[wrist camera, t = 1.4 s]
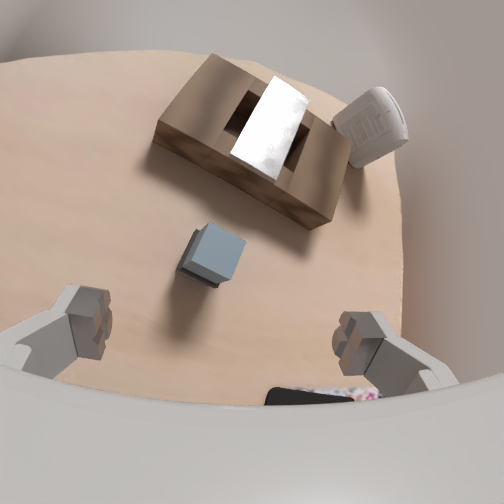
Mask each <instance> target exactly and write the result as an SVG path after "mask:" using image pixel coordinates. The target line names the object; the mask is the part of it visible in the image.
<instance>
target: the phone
mask: <svg viewBox="0 0 504 504" xmlns="http://www.w3.org/2000/svg"><path fill="white" fill-rule="evenodd" d="M343 402H354V399H353V398H350V397H343V396H334V395H326V394H319V393H311V392H306V391H300V390H292V389H286V388H280V387H274V388H272V389H270V390H269V392H268V394H267V397H266V400H265V404H264V406H280V405H312V404H330V403H343Z"/></svg>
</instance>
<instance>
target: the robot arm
mask: <svg viewBox="0 0 504 504" xmlns="http://www.w3.org/2000/svg"><path fill="white" fill-rule="evenodd" d="M110 302H111V299H110V292H109V291H108V290H105V289H99V288H93V287H87V286H81V285H75V284H68V285H66V287H65V288H64V290H63V291H62V293H61V294H60V296H59V297H58V299H57V300H56V302H55V303H54V305H53V306H52V308H51V309H50V310H44V311H42V312H40V313H38V314H36V315H34V316H32V317H30V318H28V319H26V320H24V321H22V322H20V323H18V324H16V325H14V326H12V327H10V328H8V329H6V330H4V331H2V332H0V504H504V372H503V373H499V374H496V375H492V376H489V377H485V378H482V379H478V380H474V381H470V382H466V383H462V384H459V382H458V381H457V379H456V378H455V376H454V375H453V373H452V372H451V371H450V369H449V368H448V366H447V365H445V364H444V363H442V362H440V361H438V360H437V359H435V358H434V357H432V356H431V355H429V354H427V353H426V352H424V351H423V350H421V349H419V348H418V347H416V346H414V345H413V344H411V343H410V342H408V341H406V340H404V339H403V338H398V336H397V335H396V333H395V332H394V330H393V329H392V327H391V326H390V324H389V323H388V321H387V320H386V318H385V317H384V315H383V314H382V313H381V312H347V311H344V312H343V313H342V314H341V316H340V319H339V322H340V326H339V327H338V328H337V329H336V330H335V332H334V334H333V337H332V348H333V351H334V354H335V355H336V356H338V357H339V358H340V360H339V366H340V368H341V370H342V373H343V375H344V376H355V375H364V377H365V378H366V379H367V380H369V381H370V382H371V383H372V384H373V385H374V386H375V387H376V388H377V389H378V390H379V391H380V392H382V393H383V394H384V395H385V396H386V397H387V398H380V399H372V400H364V401H354V402H343V403H330V404H312V405H280V406H253V405H222V404H205V403H191V402H180V401H170V400H161V399H153V398H146V397H139V396H132V395H126V394H120V393H114V392H108V391H103V390H98V389H93V388H88V387H83V386H78V385H74V384H70V383H65V382H61V381H57V380H53V378H54V377H55V376H57V375H58V374H59V373H60V372H61V371H63V370H64V369H65V368H66V367H68V366H69V365H70V364H71V363H72V362H74V361H75V360H76V359H77V358H78V357H82V358H88V359H94V360H101V359H102V356H103V353H104V350H105V348H106V345H105V340H107V339H108V338H109V336H110V333H111V329H112V311H111V310H110V309H109V307H108V306H109V304H110Z"/></svg>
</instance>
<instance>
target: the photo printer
mask: <svg viewBox="0 0 504 504" xmlns="http://www.w3.org/2000/svg"><path fill="white" fill-rule="evenodd" d="M333 122H334V125H335V128H336V130H337V132H339V133H340V134H341V135H343V136H344V137H345V138H347V139H348V140H349V141H351V142H352V143H353V144H352V148H351V152H350V156H349V163H350V164H351V166H353V167H354V168H362V167H364V166H365V165H367V164H369V163H371V162H373V161H375V160H377V159H379V158H380V157H382V156H384V155H386V154H388V153H390V152H392V151H394V150H396V149H397V148H399V147H401V146H402V145H403V144H405V143H406V142H407V141H408V131H407V126H406V122H405V119H404V117H403V114H402V112H401V109H400V107H399V106H398V104H397V102H396V101H395V99H394V98H393V96H392V95H391V94H390V93H389V92H388V91H387V90H386V89H385V88H384V87H380V86H378V87H375V88H372V89H370V90H368V91H367V92H365V93H364V94H363V95H361V96H360V97H359V98H357V99H356V100H355V101H353V102H352V103H351V104H350V105H348V106H347V107H346V108H344V109H343V110H342V111H340V112H339V113H338V114H337V115H335V116H334V117H333Z"/></svg>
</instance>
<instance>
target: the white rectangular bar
mask: <svg viewBox="0 0 504 504" xmlns="http://www.w3.org/2000/svg"><path fill="white" fill-rule="evenodd" d="M309 101H310V99H309V98H307V97H306V96H304V95H303V94H301V93H300V92H298V91H297V90H295V89H294V88H292V87H291V86H289V85H288V84H286V83H285V82H283V81H281V80H280V79H278V78H277V77H275V76H274V77H273V78H272V80H271V81H270V82H269V84H268V86H267V88H266V90H265V91H264V93H263V95H262V96H261V98H260V100H259V102H258V103H257V105H256V107H255V109H254V110H253V112H252V114H251V116H250V117H249V119H248V121H247V123H246V124H245V126H244V128H243V130H242V131H241V133H240V135H239V137H238V139H237V141H236V142H235V144H234V146H233V148H232V150H231V152H230V153H229V155H228V158H230V159H232V160H234V161H235V162H237V163H239V164H240V165H242V166H244V167H246V168H247V169H249V170H251V171H252V172H254V173H256V174H257V175H259V176H261V177H262V178H264V179H266V180H267V181H269V182H271V183H274V182H275V181H276V180H277V178H278V175H279V173H280V170H281V168H282V166H283V163H284V161H285V158H286V156H287V153H288V151H289V149H290V146H291V144H292V141H293V139H294V137H295V134H296V132H297V129H298V127H299V125H300V122H301V120H302V117H303V115H304V113H305V110H306V108H307V105H308V103H309Z"/></svg>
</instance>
